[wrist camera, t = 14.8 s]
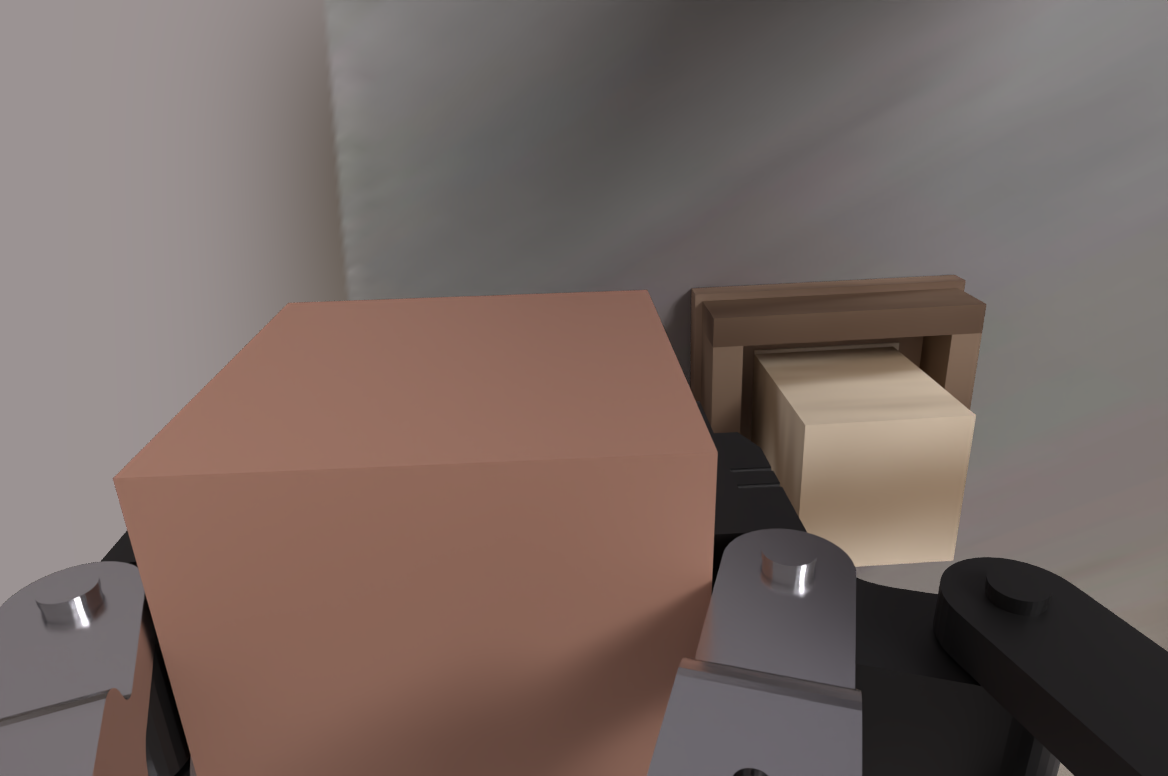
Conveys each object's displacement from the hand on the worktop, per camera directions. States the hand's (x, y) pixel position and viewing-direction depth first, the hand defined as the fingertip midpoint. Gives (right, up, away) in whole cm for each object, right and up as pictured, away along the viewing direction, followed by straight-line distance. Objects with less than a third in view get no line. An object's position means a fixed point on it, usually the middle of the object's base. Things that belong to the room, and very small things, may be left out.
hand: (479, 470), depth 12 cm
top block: (0, 0, 0) cm, 0 cm away
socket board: (+10, +1, +19) cm, 22 cm away
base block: (+10, 0, +18) cm, 21 cm away
